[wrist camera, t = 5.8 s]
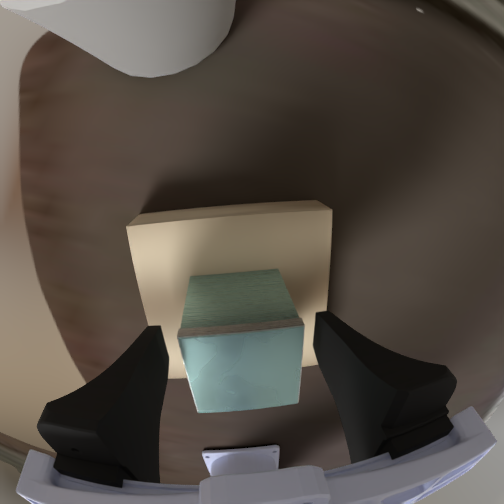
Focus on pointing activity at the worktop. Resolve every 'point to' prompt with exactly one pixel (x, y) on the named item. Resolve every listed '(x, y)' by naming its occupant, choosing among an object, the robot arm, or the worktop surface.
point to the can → (135, 30)
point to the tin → (241, 341)
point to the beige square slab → (231, 258)
